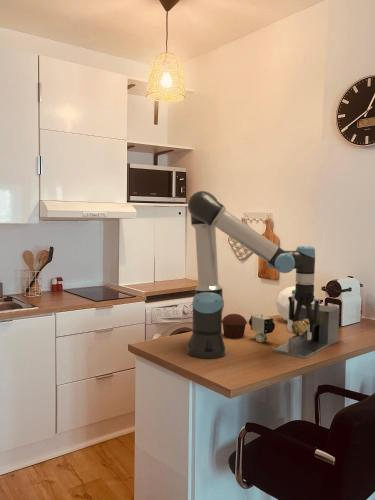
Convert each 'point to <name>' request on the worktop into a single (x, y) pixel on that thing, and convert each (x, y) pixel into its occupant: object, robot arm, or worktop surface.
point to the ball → (284, 302)
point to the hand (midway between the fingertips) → (303, 338)
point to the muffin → (234, 326)
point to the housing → (314, 334)
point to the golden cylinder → (301, 326)
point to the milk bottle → (290, 322)
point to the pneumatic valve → (261, 326)
